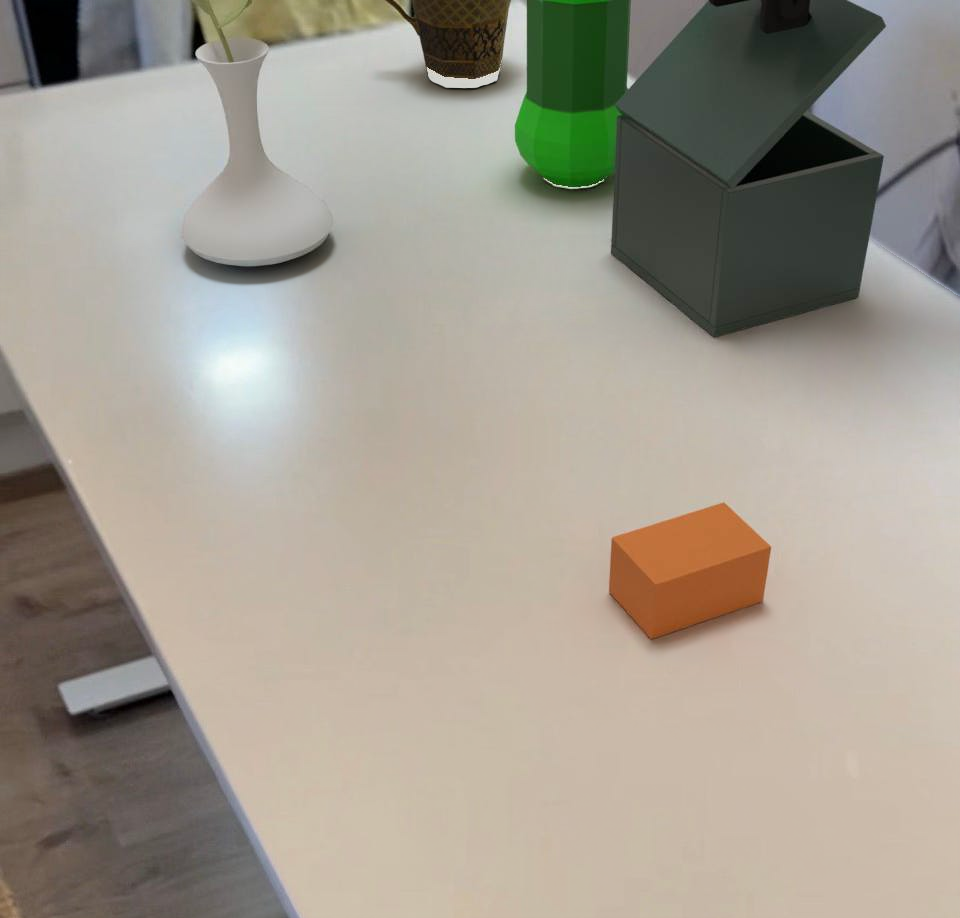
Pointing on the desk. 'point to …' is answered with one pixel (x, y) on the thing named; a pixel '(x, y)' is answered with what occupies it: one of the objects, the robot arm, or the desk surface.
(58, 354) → the desk surface
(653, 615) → the block
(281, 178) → the flower in vase
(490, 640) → the desk surface
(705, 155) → the bin lid
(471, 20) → the ceramic cup
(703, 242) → the bin
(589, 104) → the plastic bottle
